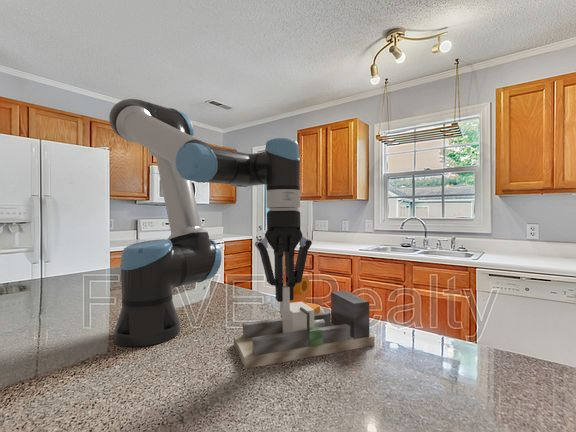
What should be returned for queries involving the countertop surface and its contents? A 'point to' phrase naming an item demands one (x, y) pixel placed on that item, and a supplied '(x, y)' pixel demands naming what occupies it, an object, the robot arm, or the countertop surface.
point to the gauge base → (294, 353)
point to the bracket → (303, 294)
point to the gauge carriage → (300, 318)
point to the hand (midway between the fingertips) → (284, 315)
